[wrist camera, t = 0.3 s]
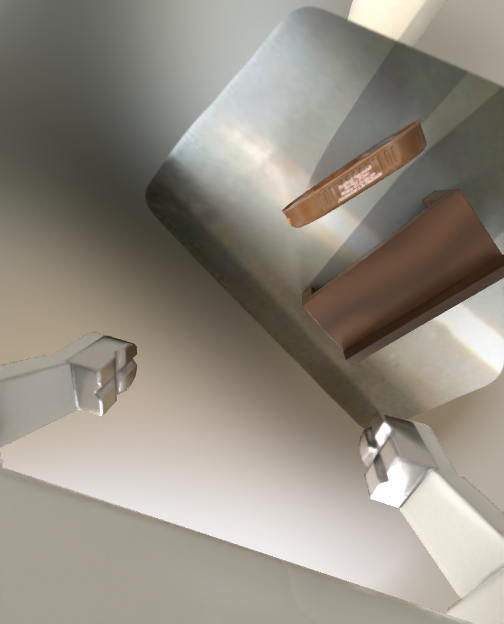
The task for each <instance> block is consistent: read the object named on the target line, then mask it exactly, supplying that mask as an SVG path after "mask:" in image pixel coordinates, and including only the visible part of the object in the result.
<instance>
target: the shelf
mask: <svg viewBox="0 0 504 624" xmlns="http://www.w3.org/2000/svg"><path fill="white" fill-rule="evenodd" d="M422 202H423V203H424V205H425V206H426V207H427V208H426V209H425V210H423V211H422V212H421V213H419V214H418V215H417V216H415V217H414V218H413V219H412V220H410V221H409V222H408V223H406V224H405V225H404V226H402V227H401V228H400V229H398V230H397V231H396V232H394V233H393V234H392V235H390V236H389V237H388V238H386V239H385V240H384V241H382V242H381V243H380V244H378V245H377V246H376V247H374V248H373V249H372V250H371V251H369V252H368V253H367V254H365V255H364V256H363V257H361V258H360V259H359V260H357V261H356V262H355V263H353V264H352V265H351V266H349V267H348V268H347V269H345V270H344V271H343V272H341V273H340V274H339V275H337V276H336V277H335V278H333V279H332V280H331V281H329V282H328V283H327V284H326V285H324V286H323V287H322V288H320V289H319V290H318V291H316V292H314V291H313V290H312V288H311V287H310V288H309V289H307V290H306V291H305V292H304V293H302V305H303V307H304V308H305V309H306V310H307V312H308V313H309V314H310V315H311V316H312V317H313V318H314V319H315V321H316V322H317V323H318V324H319V325H320V326H321V327H322V328H323V329H324V331H325V332H326V333H327V334H328V335H329V336H330V337H331V338H332V340H333V341H334V342H335V343H336V344H337V345H338V346H339V347H340V348H341V350H342V351H343V352H344V355H345V359H346V361H347V362H348V363H349V364H350V365H351V366H352V365H354V364H355V363H357V362H359V361H361V360H362V359H364V358H366V357H368V356H369V355H371V354H373V353H374V352H376V351H378V350H380V349H381V348H383V347H385V346H387V345H388V344H390V343H392V342H393V341H395V340H397V339H399V338H400V337H402V336H404V335H406V334H407V333H409V332H411V331H412V330H414V329H416V328H418V327H419V326H421V325H423V324H425V323H426V322H428V321H430V320H431V319H433V318H435V317H437V316H438V315H440V314H442V313H444V312H445V311H447V310H449V309H450V308H452V307H454V306H456V305H457V304H459V303H461V302H463V301H464V300H466V299H468V298H469V297H471V296H473V295H475V294H476V293H478V292H480V291H482V290H483V289H485V288H487V287H488V286H490V285H492V284H494V283H495V282H497V281H499V280H501V279H502V278H504V255H502V253H501V252H500V250H499V249H498V247H497V246H496V244H495V243H494V241H493V240H492V238H491V237H490V235H489V234H488V232H487V231H486V229H485V228H484V226H483V224H482V223H481V221H480V220H479V218H478V217H477V215H476V214H475V212H474V211H473V209H472V208H471V206H470V205H469V203H468V202H467V200H466V199H465V197H464V196H463V194H462V193H461V191H460V190H459V189H453V190H441V191H434V192H433V193H432V194H430V195H429V196H428V197H426V198H425V199H424V200H423V201H422Z"/></svg>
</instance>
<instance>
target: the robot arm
mask: <svg viewBox="0 0 504 624" xmlns="http://www.w3.org/2000/svg"><path fill="white" fill-rule="evenodd" d="M135 355H137V346H136V345H135V344H133V343H130V342H127V341H124V340H121V339H117V338H114V337H111V336H106V335H103V334H100V333H97V332H89V333H87V334H85V335H84V336H82V337H81V338H79V339H77V340H75V341H74V342H72V343H71V344H69V345H67V346H66V347H64V348H62V349H61V350H59V351H57V352H56V353H54V354H52V355H51V356H46V355H43V356H38V357H34V358H29V359H25V360H21V361H16V362H11V363H7V364H2V365H0V447H3V446H4V445H7V444H9V443H11V442H13V441H15V440H17V439H19V438H21V437H23V436H25V435H27V434H29V433H31V432H33V431H35V430H38V429H40V428H42V427H44V426H46V425H48V424H50V423H51V422H54V421H56V420H58V419H60V418H62V417H64V416H66V415H68V414H70V413H73V412H75V411H76V409H78V410H81V411H85V412H89V413H92V414H96V415H100V416H103V415H104V414H105V413H106V412H107V410H108V409H109V408H110V407H111V406H112V405H113V404H114V403H115V402H116V400H117V394H120V393H122V392H124V391H126V390H127V388H129V387H130V385H131V384H132V382H133V380H134V378H135V375H136V371H137V364H136V363H135V361H134V360H133V357H134V356H135ZM370 423H371V427H369V428H367V429H365V430H364V431H363V433H362V436H361V437H360V443H359V454H360V459H361V461H362V463H363V464H364V465H365V467H366V468H367V469H368V470H367V471H366V473H365V479H366V483H367V488H368V492H369V495H370V498H372V499H374V500H378V501H380V502H384V503H386V504H389V505H392V506H395V507H398V508H401V509H400V511H401V512H402V513H403V515H404V516H405V518H406V520H407V521H408V522H409V524H410V525H411V527H412V528H413V530H414V531H415V533H416V534H417V536H418V537H419V539H420V540H421V541H422V543H423V544H424V546H425V547H426V549H427V550H428V552H429V553H430V555H431V556H432V558H433V559H434V560H435V562H436V563H437V565H438V566H439V568H440V569H441V571H442V572H443V574H444V575H445V576H446V578H447V579H448V581H449V582H450V583H451V585H452V587H453V588H454V590H455V591H456V592H457V594H458V595H459V597H460V598H461V599H460V600H459V601H457V602H456V603H455V604H453V605H452V606H450V607H449V608H448V610H447V612H446V613H445V614H444V613H441V612H438V611H435V610H432V609H429V608H426V607H423V606H420V605H417V604H414V603H411V602H408V601H405V600H402V599H399V598H396V597H393V596H390V595H387V594H384V593H381V592H378V591H375V590H372V589H369V588H366V587H363V586H360V585H357V584H354V583H351V582H347V581H345V580H342V579H339V578H336V577H333V576H330V575H327V574H324V573H321V572H318V571H315V570H312V569H309V568H306V567H303V566H300V565H297V564H293V563H291V562H288V561H285V560H282V559H278V558H276V557H273V556H269V555H267V554H263V553H261V552H258V551H254V550H252V549H249V548H246V547H242V546H239V545H236V544H233V543H230V542H227V541H224V540H221V539H218V538H215V537H212V536H209V535H206V534H203V533H200V532H197V531H194V530H191V529H188V528H185V527H182V526H179V525H176V524H173V523H170V522H167V521H164V520H161V519H158V518H155V517H152V516H149V515H146V514H143V513H140V512H137V511H134V510H131V509H128V508H124V507H121V506H118V505H115V504H112V503H109V502H106V501H103V500H100V499H97V498H94V497H91V496H88V495H85V494H82V493H79V492H76V491H73V490H70V489H67V488H64V487H61V486H58V485H55V484H52V483H49V482H46V481H43V480H40V479H37V478H34V477H30V476H27V475H25V474H22V473H19V472H15V471H13V470H10V469H7V468H4V467H2V465H3V460H2V457H1V454H0V624H504V512H503V511H502V510H500V509H499V508H498V507H497V506H496V505H495V504H494V503H493V502H491V501H490V500H489V499H488V498H487V497H486V496H485V495H484V494H483V493H481V492H480V491H479V490H478V489H477V488H476V487H475V486H474V485H473V484H471V483H470V482H469V481H468V480H467V479H466V478H464V477H461V476H459V475H458V473H457V472H456V470H455V468H454V467H453V465H452V463H451V462H450V460H449V458H448V457H447V455H446V453H445V451H444V450H443V448H442V446H441V445H440V443H439V441H438V440H437V438H436V436H435V434H434V433H433V431H432V429H431V428H430V427H429V426H427V425H426V424H422V423H418V422H414V421H410V420H409V421H408V420H405V419H401V418H398V417H394V416H390V415H387V414H383V413H379V412H376V413H374V414H373V415H372V417H371V419H370Z"/></svg>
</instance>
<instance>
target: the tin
mask: <svg viewBox="0 0 504 624" xmlns="http://www.w3.org/2000/svg"><path fill="white" fill-rule="evenodd" d="M425 147H426V141H425V137H424V134H423V131H422V128H421V125H420V119H419V120H416V121H414V122H413V123H411V124H409V125H408V126H406V127H404V128H403V129H401V130H399V131H398V132H396V133H394V134H392V135H391V136H389V137H387V138H386V139H384V140H383V141H381V142H380V143H378V144H377V145H375V146H374V147H372V148H371V149H369V150H368V151H366V152H365V153H363V154H362V155H360V156H359V157H357V158H356V159H354V160H353V161H351V162H350V163H348V164H347V165H345V166H344V167H342V168H341V169H339V170H338V171H336V172H335V173H333V174H332V175H330V176H329V177H327V178H326V179H324V180H323V181H321V182H320V183H318V184H317V185H316V186H314V187H313V188H311V189H310V190H308V191H307V192H305V193H304V194H303V195H301V196H300V197H298V198H297V199H295V200H294V201H293V202H291V203H290V204H289V205H288V206H286V207H285V208H284V209H283V210H282V212H284V214H285V215H286V217H287V219H288V221H289V222H290V224H291V226H292V227H295V228H299V227H302V226H305V225H307V224H309V223H311V222H313V221H315V220H317V219H319V218H321V217H322V216H324V215H326V214H327V213H329V212H331V211H332V210H334V209H336V208H337V207H339V206H341V205H342V204H344V203H346V202H347V201H349V200H350V199H352V198H354V197H355V196H357V195H358V194H360V193H362V192H363V191H365V190H366V189H368V188H370V187H371V186H373V185H374V184H376V183H377V182H379V181H381V180H382V179H384V178H385V177H387V176H389V175H390V174H392V173H393V172H395V171H396V170H398V169H400V168H401V167H403V166H404V165H405V164H407V163H408V162H410V161H411V160H413V159H414V158H415V157H417V156H418V155H419V154H420V153H421V152H422V151H423V150H424V149H425Z"/></svg>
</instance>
